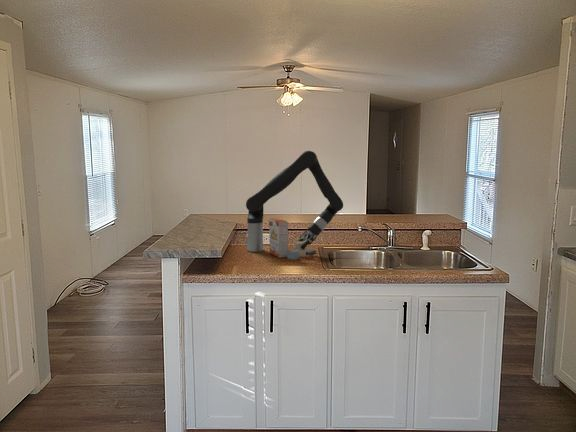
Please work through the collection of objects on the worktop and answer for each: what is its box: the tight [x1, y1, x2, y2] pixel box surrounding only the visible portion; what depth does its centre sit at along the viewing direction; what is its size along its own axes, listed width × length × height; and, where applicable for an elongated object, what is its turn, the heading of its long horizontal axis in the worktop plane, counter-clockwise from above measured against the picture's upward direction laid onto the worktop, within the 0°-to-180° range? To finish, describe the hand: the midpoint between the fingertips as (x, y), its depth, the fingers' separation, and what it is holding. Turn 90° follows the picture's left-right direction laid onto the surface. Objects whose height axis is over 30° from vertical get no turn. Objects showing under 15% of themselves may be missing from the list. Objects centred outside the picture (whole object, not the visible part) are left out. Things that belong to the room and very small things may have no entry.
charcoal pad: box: [306, 248, 317, 256], centre depth 288 cm, size 9×8×2 cm
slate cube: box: [287, 249, 300, 261], centre depth 273 cm, size 4×4×4 cm
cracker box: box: [268, 217, 289, 259], centre depth 280 cm, size 14×6×21 cm, turn 25°
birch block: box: [293, 241, 307, 258], centre depth 279 cm, size 5×5×8 cm
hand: (299, 247), depth 279 cm, fingers open, 8 cm apart
